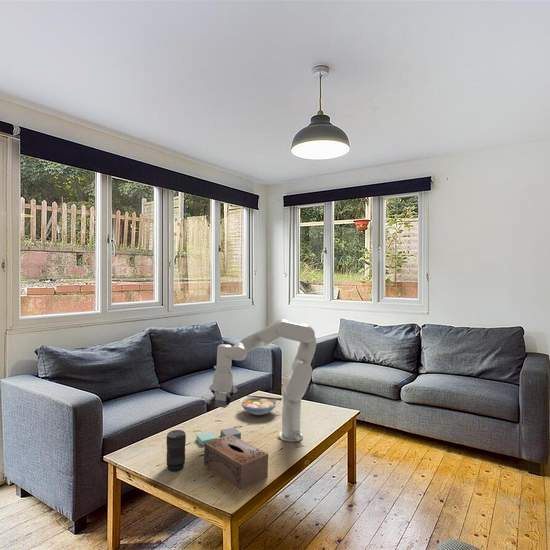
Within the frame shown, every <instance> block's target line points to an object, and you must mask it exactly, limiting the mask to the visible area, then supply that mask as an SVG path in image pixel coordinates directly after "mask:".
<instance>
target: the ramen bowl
mask: <svg viewBox="0 0 550 550" xmlns="http://www.w3.org/2000/svg"><path fill="white" fill-rule="evenodd" d="M244 396H245V397H244ZM278 401H283V397H271V396H268V395H259V394H257V395H246V394H243V398H241V399H240V401H239V404H240V405H241V406H242V408H243V410H244V411H245V412H247V413H249V414H251V415H254V416H263V415H266V414H269V413H270V412H272V411H273V410H274V409H275V408H276V406H277V404H278Z"/></svg>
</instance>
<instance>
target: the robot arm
mask: <svg viewBox="0 0 550 550" xmlns="http://www.w3.org/2000/svg"><path fill="white" fill-rule="evenodd" d="M281 338H283V339H286V340H291V341H295V342H298V343H299V347H298V350H297V353H296V356H295V357H294V360H293V361H292V364H291V371H292V375H289V376H287V377H286V378H285V379H284V380H283V382H282V413H281V414H282V417H281V419H282V420H281V421H282V423H281V424H282V425H281V431H280V432H279V433H278V438H279V439H280V440H282V441H284V442H290V443H291V442H292V443H295V442H299V441H302V440H303V439H304V438H303V437H304V435H303V433H302V431H301V413H302V412H301V411H302V410H301V408H302V398H303V397H304V395H305V394H306V391H307V389H308V386H309V384H310V381H311V379H312V376H313V368H312V365H311V364H312V361H313V359H314V355H315V353H316V349H317V338H316V333H315V330H314V329H313V327H312V326H310V325H309V324H307V323H300V324H298V323H293V322H290V321H289V320H287V319H285V318H281V319H278V320H276V321H275V322H273V323H271V324H269V325H267V326H266V327H263V328H262V329H260V330H259V331H256V332H255V333H252V334H251V335H248V336H246V337H245V338H243V339H241V340H239V341H237V342H236V343H235V344H234V345H233V346H232V345H231V344H229V343H228V344H227V343H221V344H219V345H218V346H217V349H216V350H217V351H216V365H214V366H213V368H214V369H215V371H214V373H213V377H212V378H213V379H212V384H211V385H210V386H209V387H208V390H210V392H211V393H212V395H213V396H214V398H213V399H214V400H213V401H214V402H215V395H216V393H217V392H227V395H228V397H227V406H229V405H230V404H231V403H232V401H231V400H232V396H233V395H234V394H235V393H237V392H238V389H237V388H236V386H235V385H234V374H233V373H234V372H233V371H232V361H233V360H234V361H243V360H245V359H246V358H247V355H248V353H249V352H250V351H252V350H254V349H256V348H260V347H266V346H267V347H268V346H270V345H271V344H272V343H275V342H276V341H278V340H280V339H281Z"/></svg>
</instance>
